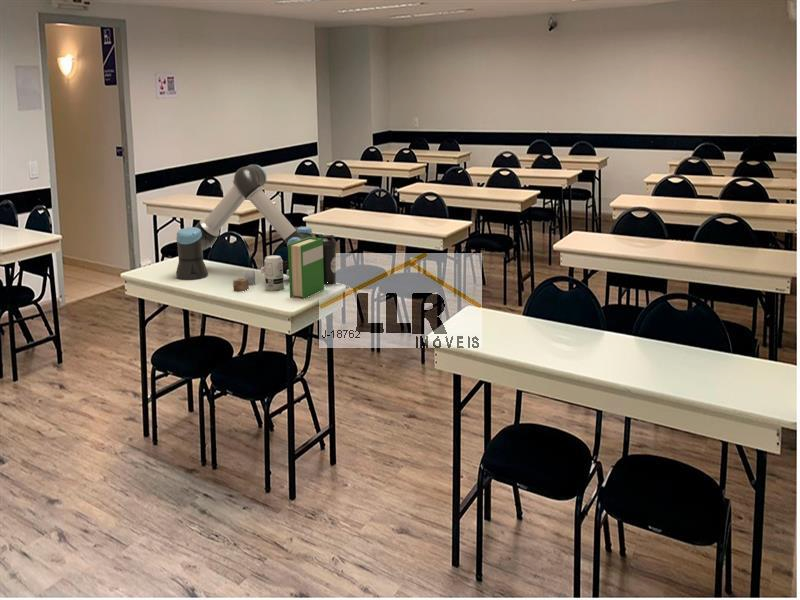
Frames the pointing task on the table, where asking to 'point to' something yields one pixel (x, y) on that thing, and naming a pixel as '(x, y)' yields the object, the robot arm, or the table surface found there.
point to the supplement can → (274, 272)
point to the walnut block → (240, 284)
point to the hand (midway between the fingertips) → (274, 272)
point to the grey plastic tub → (250, 277)
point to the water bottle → (329, 259)
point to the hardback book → (306, 267)
